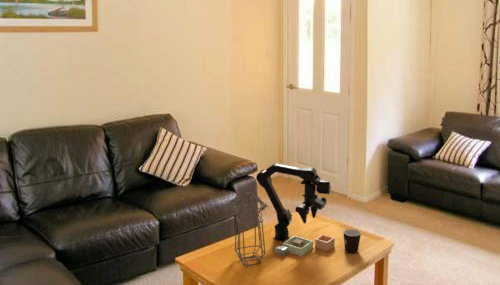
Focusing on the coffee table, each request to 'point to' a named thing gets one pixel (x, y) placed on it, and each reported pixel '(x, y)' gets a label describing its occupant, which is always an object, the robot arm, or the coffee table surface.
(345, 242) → the coffee mug
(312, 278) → the coffee table surface
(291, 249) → the bin
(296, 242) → the walnut block
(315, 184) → the robot arm
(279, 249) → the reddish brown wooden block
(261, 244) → the geometric lantern
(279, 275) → the coffee table surface
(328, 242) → the open square box
